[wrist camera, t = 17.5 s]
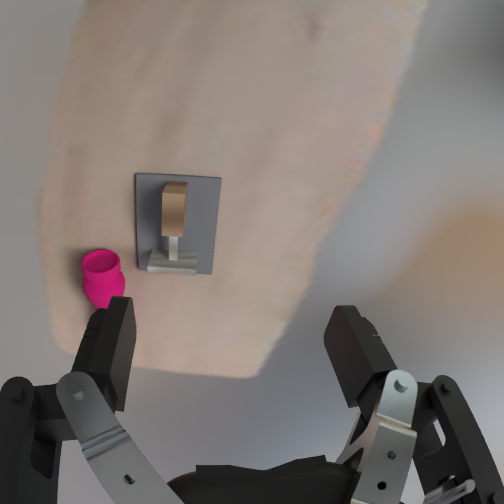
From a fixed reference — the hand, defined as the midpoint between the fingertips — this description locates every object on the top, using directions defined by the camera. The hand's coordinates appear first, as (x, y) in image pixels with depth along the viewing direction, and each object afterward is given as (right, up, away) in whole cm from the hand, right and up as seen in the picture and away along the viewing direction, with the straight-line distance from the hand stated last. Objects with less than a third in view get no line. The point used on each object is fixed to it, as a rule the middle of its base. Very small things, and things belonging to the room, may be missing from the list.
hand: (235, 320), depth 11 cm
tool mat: (-11, +6, +32) cm, 35 cm away
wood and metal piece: (-10, +7, +31) cm, 34 cm away
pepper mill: (-22, +1, +29) cm, 37 cm away
